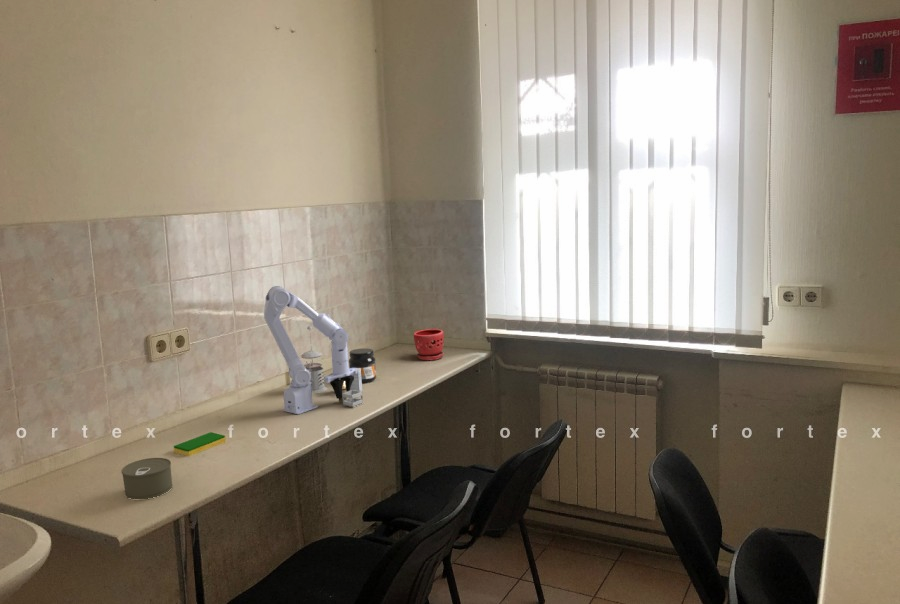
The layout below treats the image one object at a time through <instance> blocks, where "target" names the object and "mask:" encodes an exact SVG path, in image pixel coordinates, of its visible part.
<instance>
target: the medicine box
mask: <svg viewBox="0 0 900 604" xmlns="http://www.w3.org/2000/svg"><path fill="white" fill-rule="evenodd" d="M349 369H350V368H349ZM357 372H358V373H357V374H352V375H351V376H354V380H353V382H352V385H351V388H350V390H356V391H361V392H362V390H363V383H362V380H361V368H357ZM339 380H340V378H339Z"/></svg>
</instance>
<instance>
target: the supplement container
mask: <svg viewBox="0 0 900 604" xmlns="http://www.w3.org/2000/svg"><path fill="white" fill-rule="evenodd" d="M348 355H349V358H348V363H349V368H361V380H362V384H368V383H371V382H374V381H376V379H377V367H376V357H375V356H374V355H375V351H374V349H372V348H369V347H368V348H365V347H364V348H354V349H351V350H350V351H349V352H348ZM367 382H368V383H367Z"/></svg>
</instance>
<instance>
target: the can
mask: <svg viewBox="0 0 900 604" xmlns="http://www.w3.org/2000/svg"><path fill="white" fill-rule="evenodd" d="M171 465H172V463H171V460H170V459H168V458H164V457H150V458H144V459H139V460H136V461H133V462H131V463H128V464H126V465H125V466H124V467H122V469H121V474H122V479H123V487H124V495H126V496H127V497H128V498H131V499H148V498H153V497H156V498H158V497H157V496H159V497H161V496H160V495H162V494H164V493H166V492H168V491H169V490H170V489H171V488H172V489H173V487H174V486H173V478H172V470H171V469H172V467H171ZM172 486H173V487H172ZM172 489H171V490H172ZM171 490H170V491H171ZM170 491H169V492H170ZM169 492H168V493H169ZM166 494H167V493H166ZM164 495H165V494H164ZM126 496H125V497H126ZM162 496H163V495H162ZM128 498H127V499H128ZM131 499H130V500H131ZM153 499H154V498H153ZM148 500H149V499H148Z"/></svg>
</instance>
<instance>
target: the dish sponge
mask: <svg viewBox="0 0 900 604" xmlns="http://www.w3.org/2000/svg"><path fill="white" fill-rule="evenodd" d="M223 442H224V443H226V435H224V434H220V433H216V432H211V431H210V432H208V433H205V434H202V435H199V436H197V437H196V436H195V437H193V438H191V439H189V440H186V441H184V442H180V443H178V444H175V445H173V450H174V451H173V453H175V452H177V453H176V454H178V453H180V454H179V455H182V454H184V455H183V456H186V455H187V456H186V457H191V456H193V455H195V453H196V454H198V453H200V451H201V452H203V451H206V450H209V449H211V448H213V446H214V447H215V446H218V444H219V445H220V444H223ZM190 455H191V456H190Z"/></svg>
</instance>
